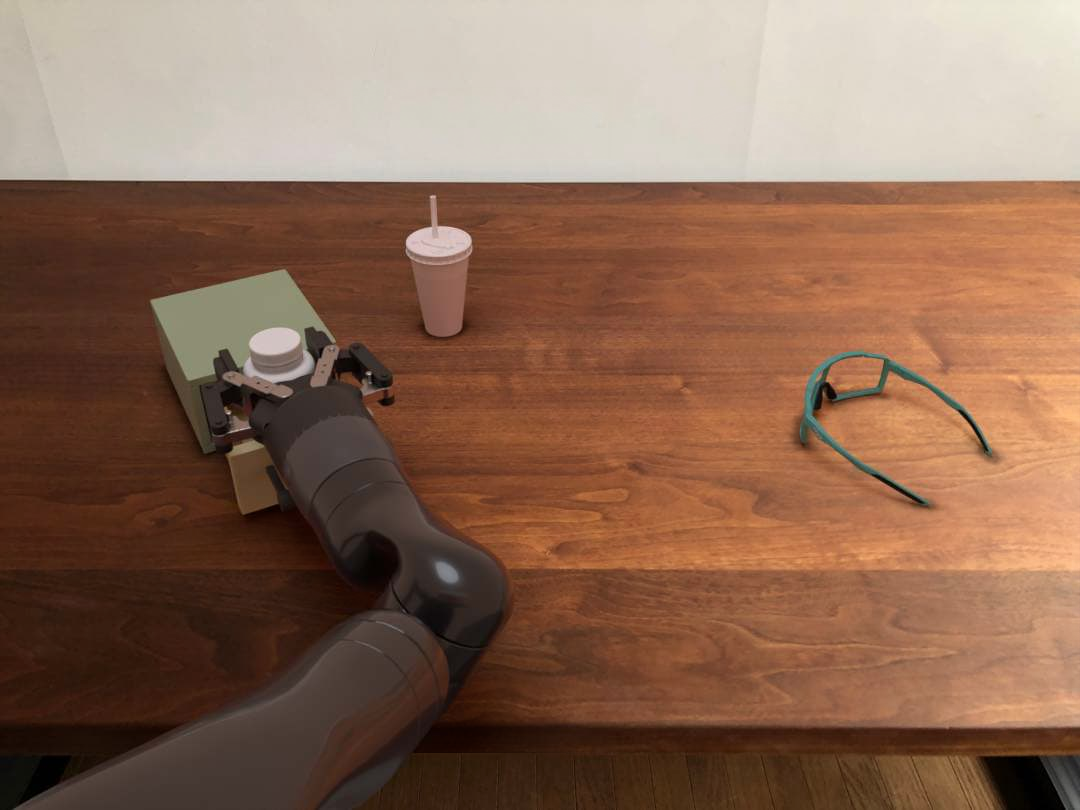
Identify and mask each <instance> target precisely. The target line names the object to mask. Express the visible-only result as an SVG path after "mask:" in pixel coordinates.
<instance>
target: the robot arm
mask: <svg viewBox="0 0 1080 810" xmlns="http://www.w3.org/2000/svg"><path fill="white" fill-rule="evenodd" d="M304 332H305V339H306V345H307V349H308V351H309V353H310V354H311V356H312V357H313V359H314V361H315V362H316V364H317V366H316V369H315V372H314V375H312V374H311V373H310V374H306V375H303V376H300V377H298V378H296V379H293V380H288V381H281V382H277V383H272V382H269V381H267V380H265V379H263V378H260V377H258V376H253V377H251V378H249V377H247V376H245V375H242V374H240V373H239V369H238V367H237V365H236V363H235V362H234V360H233V358H232V356H231V354H230V352H229V350H228V349H223V350H219V351H218V353H219V357H216V358H214V360H213V365H214V369H215V374H216V378H217V380H218V383H215V382H207V383H204V384H203V385H202V386H201V392H202V396H203V401H204V405H205V410H206V414H207V418H208V422H209V426H210V429H211V433H212V437H213V441H214V445H215V449H216V451H215V452H216V453H217V454H219V455H225V454H227V453H230V452H231V451H232V450H233V444H232V442H236V441H241V440H245V439H250V438H253V439H254V440H255V441H256V442H258V443H260V444H262V445H264V446H265V447H266V449H267V451H268V453H269V455H270V457H271V459H272V460H273V462H274V464H275V466H276V468H277V470H278V472H279V474H280V476H281V478H282V479H283V481H284V483H285V485H286V487H287V489H288V491H289V493H290V495H291V497H292V499H293V500H294V502H295V504H296V506H297V508H296V509H298V511H299V513H300V515H302V517H303V518H304V519H305V520H306V522H307V523H308V524H309V526H311V528H312V529H313V533H314V534H315V536H316V537H317V540H318V541H319V543H320V545H321V547H322V549H323V551H324V552H325V553H324V554H325V555H326V556H327V558H328V560H329V561H330V563H331V565H332V567H333V569H334V570H335V572H336V573H337V575H338V576H339V577H340V578H341V579H342V581H343V582H345V583H346V584H347V585H348V586H350V587H352V588H354V589H355V590H358V591H361V592H364V593H365V592H366V593H380V594H379V595H378V597H377V599H376V601H375V602H374V604H373V605H372V607H371V608H370V609H366V610H363V611H360V612H357V613H355V614H353V615H351V616H348V618H345V619H343V620H342V621H340V622H339V623H338V624H336V625H335V626H333V627H331V629H329V630H328V631H327V632H325V633H324V634H323V635H322V636H321V637H320V638H318V639H317V640H316V641H314V642H313V643H312V644H311V645H310V646H308V647H307V648H306V649H305V650H303V651H302V652H301V653H300V654H299V655H298V656H297V657H295V658H294V659H293V660H292V661H291V662H289V663H288V664H287V665H286V666H284V667H283V668H282V669H281V670H280V671H278V672H277V673H275V675H273V676H271V677H270V678H268V679H267V680H266V681H265V682H263V683H262V684H260V685H258V686H257V687H255V688H253V689H252V690H250V691H248V692H247V693H246V694H243V695H242V696H240V697H237V698H235V699H234V700H232V701H229V702H227V703H225V704H223V705H221V706H219V707H217V708H214V709H212V710H211V711H209V712H206V713H204V714H202V715H200V716H198V717H195V718H194V719H192V720H189V721H187V722H185V723H183V724H181V725H179V726H175V727H174V728H172V729H170V730H168V731H166V732H164V733H162V734H160V735H158V736H156V737H155V738H152V739H151V740H149V741H147V742H144V743H143V744H141V745H139V746H137V747H134V748H132V749H129V750H127V751H125V752H123V753H120V754H119V755H117V756H115V757H113V758H110V759H108V760H106V761H104V762H101V763H100V764H98V765H96V766H93V767H91V768H89V769H87V770H85V771H82V772H80V773H78V774H76V775H74V776H72V777H70V778H67V779H66V780H64V781H62V782H59V783H58V784H56V785H53V786H52V787H50V788H48V789H46V790H44V791H42V792H41V793H39V794H37V795H35V796H33V797H31V798H30V799H29V800H26V801H24V802H23V803H21V804H19V805H18V806H16V807H15V808H12V810H353V809H355V808H357V807H359V806H361V805H362V804H364V803H365V802H367V801H368V800H369V799H371V798H372V797H373V796H374V795H376V794H377V793H379V792H380V791H381V790H382V789H383V788H384V787H385V786H386V785H387V784H388V783H389V782H390V780H391V779H392V778H393V777H394V776H395V775H396V773H397V772H398V771H399V770H400V769H401V768H402V766H403V765H404V764H405V762H406V761H407V760H408V759H409V757H410V756H411V754H412V753H413V752H414V751H415V750H416V748H417V747H418V746H419V744H420V743H421V742H422V740H424V738H425V736H426V735H427V734H428V732H429V731H430V730H431V728H432V727H433V726H434V725H435V724H437V722H438V721H440V720H441V718H442V717H443V716H444V715H445V714H446V713H447V711H448V710H449V709H450V708H451V706H452V705H453V704H454V703H455V701H456V700H457V699H458V697H459V696H460V694H461V693H462V691H464V690H465V689H464V688H466V686H467V684H468V683H469V681H470V680H471V678H472V677H473V676H474V674H475V672H476V671H477V669H478V668H479V667H480V665H481V664H482V662H483V660H484V659H485V657H486V656H487V654H488V653H489V651H490V650H491V648H492V647H493V645H494V644H495V642H496V641H497V640H498V638H499V636H500V635H501V634H502V632H503V631H504V629H505V627H506V626H507V624H508V622H509V621H510V620H511V617H512V615H513V613H514V609H515V605H516V604H515V603H516V593H515V585H514V581H513V577H512V575H511V573H510V570H509V568H508V566H507V565H506V564H505V562H504V561H503V560H502V559H501V558H500V557H499V555H497V554H495V552H493V551H492V550H491V549H490V548H488V547H487V546H485V545H484V544H482V543H480V542H479V541H477V540H476V539H474V538H472V537H471V536H469V535H467V534H466V533H465V532H463V531H461V530H460V529H459V528H457V527H456V526H455V525H453V524H452V523H451V522H449V521H448V520H447V519H446V518H445V517H443V516H442V515H440V514H439V513H438V512H437V511H436V510H435V509H434V508H432V507H431V506H430V505H429V504H428V503H427V502H426V500H425V499H424V497H423V496H422V494H421V493H420V491H419V490H418V489H417V487H416V485H415V484H414V483H413V482H412V480H411V478H410V477H409V475H408V474H407V472H406V470H405V468H404V466H403V463H402V460H401V459H400V456H399V454H398V453H397V451H396V450H395V449H396V448H395V446H394V445H393V442H392V441H391V439H390V438H389V437H388V436H387V435H386V434H385V433H384V431H383V430H382V429H381V427H380V426H379V424H378V423H377V421H376V420H375V417H374V418H373V417H372V415H371V414H370V413H369V411H368V410H367V405H369V404H373V403H375V402H377V403H378V404H379V405H380V406H383V407H390V406H392V405H394V404H395V402H396V399H395V387H394V380H393V379H394V378H393V377H394V376H393V373H392V372H391V371H390V370H389V369H388V368H387V367H386V366H385V365H384V364H383V362H381V361H380V360H379V359H378V358H377V357H376V356H375V355H374V353H372V352H371V351H370V350H369V349H368V347H366V346H365V345H364V344H363V343H362V342H353V343H351V344H350V345H348V347H347V348H344V349H343V348H340V346H339V345H338V344H337V345H333V343H332V342H331V340H330V339H329V337H328V336H327V335H326V333H325V332H323V331H321V330H320V331H316V330H315V328H314V327H313V326H312V327H308V328H305V329H304ZM345 373H351V375H352V376H353V378H355V380H356V381H357V382H358V383H359V384H360V385H361V388H360V387H358V386H356V385H354V384H351V383H348V382H345V381H342V382H341V380H342V378H343V374H345ZM228 405H230V406H232V407H234V408H236V409H239V410H241V411H243V412H245V413H246V414H247V416H248V418H249V421H241V420H239V419H238V417H237V416H233V415H232V411H230V410H227V411H226V412H225V410H224V407H226V406H228Z"/></svg>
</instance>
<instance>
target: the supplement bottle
mask: <svg viewBox="0 0 1080 810" xmlns="http://www.w3.org/2000/svg"><path fill="white" fill-rule="evenodd" d="M249 349H250V357H249V359H248V360H247V361H246V362H245V365H244V367H243V375H245V376H247V377H249V378H251V377H253V376H258V377H260V378H263V379H265V380H267V381H269V382H272V383H277V382H281V381H288V380H293V379H296V378H298V377H300V376H303V375H306V374H310V373H311V374H312V375H314V372H315V369H316V367H315V362H314V359H313V357H312V356H311V354H310V353H308V352H307V351H306V350H304V349H303V346H302V343H301V337H300V335H299V334H298V333H297V332H296V331H294V330H292V329H289V328H270V329H266V330H263V331H261V332H259V333H257V334H255V335H254V336H253V337H252V338H251V339H250V342H249Z"/></svg>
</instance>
